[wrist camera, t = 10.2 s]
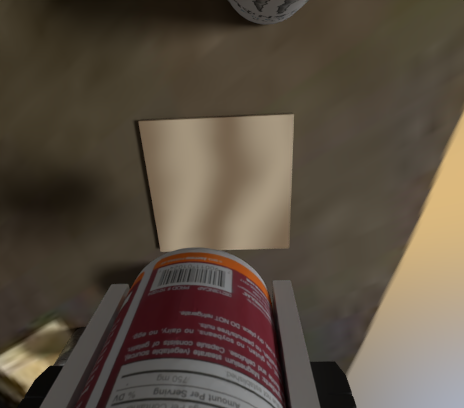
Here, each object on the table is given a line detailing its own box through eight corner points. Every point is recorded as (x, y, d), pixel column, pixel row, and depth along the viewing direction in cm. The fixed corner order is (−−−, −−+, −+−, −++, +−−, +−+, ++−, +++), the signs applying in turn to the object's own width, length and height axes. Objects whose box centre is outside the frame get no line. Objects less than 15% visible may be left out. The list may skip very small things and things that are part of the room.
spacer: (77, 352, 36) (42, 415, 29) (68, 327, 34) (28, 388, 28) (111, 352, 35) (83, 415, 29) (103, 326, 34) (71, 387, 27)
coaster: (162, 248, 29) (160, 251, 29) (140, 120, 24) (138, 121, 24) (288, 244, 29) (289, 248, 28) (292, 113, 24) (293, 114, 23)
